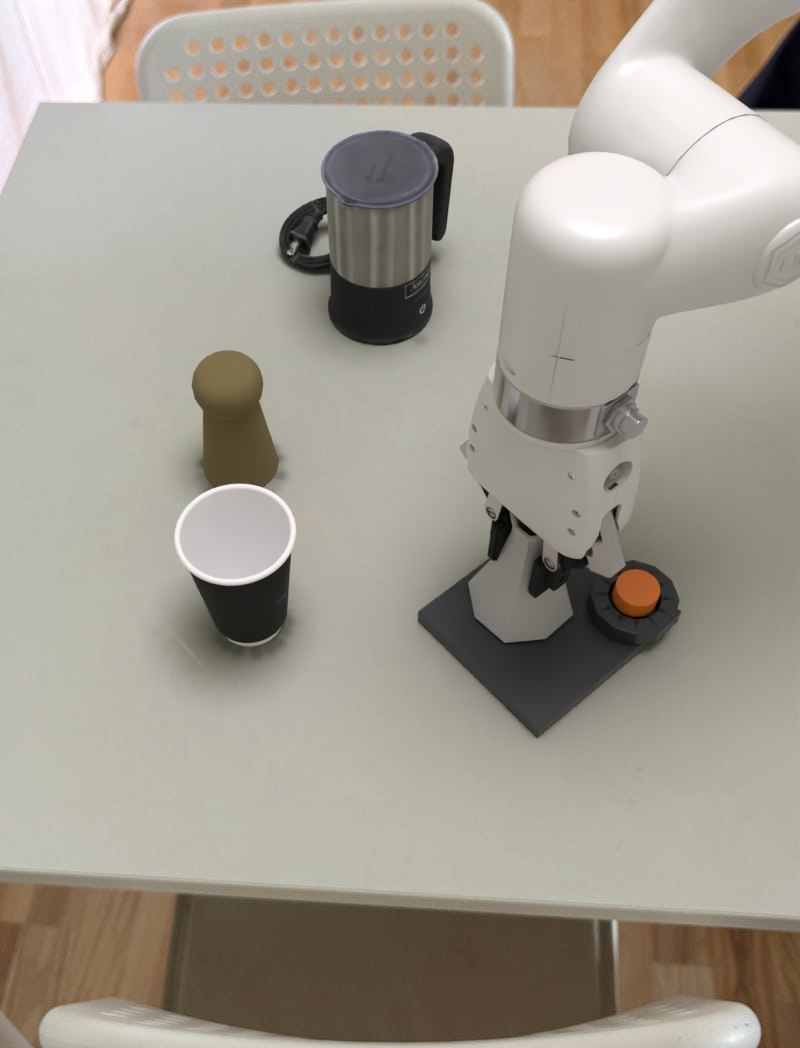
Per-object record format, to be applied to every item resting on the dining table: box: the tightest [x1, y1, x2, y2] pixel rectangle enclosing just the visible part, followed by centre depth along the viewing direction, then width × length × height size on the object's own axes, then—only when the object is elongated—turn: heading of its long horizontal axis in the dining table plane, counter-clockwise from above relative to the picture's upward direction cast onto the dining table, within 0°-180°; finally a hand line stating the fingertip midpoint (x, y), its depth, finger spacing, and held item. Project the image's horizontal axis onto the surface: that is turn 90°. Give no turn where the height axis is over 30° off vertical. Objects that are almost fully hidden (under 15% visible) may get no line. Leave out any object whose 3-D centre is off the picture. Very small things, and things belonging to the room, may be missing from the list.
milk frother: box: [278, 129, 455, 345], centre depth 93 cm, size 14×16×15 cm
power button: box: [612, 569, 660, 617], centre depth 76 cm, size 3×3×2 cm
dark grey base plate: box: [417, 557, 682, 739], centre depth 78 cm, size 14×12×3 cm
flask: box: [468, 512, 573, 643], centre depth 74 cm, size 7×7×10 cm
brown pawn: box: [191, 349, 279, 488], centre depth 83 cm, size 6×6×11 cm
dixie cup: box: [173, 484, 297, 647], centre depth 75 cm, size 8×8×11 cm
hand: (527, 564), depth 74 cm, fingers closed on flask, 3 cm apart
